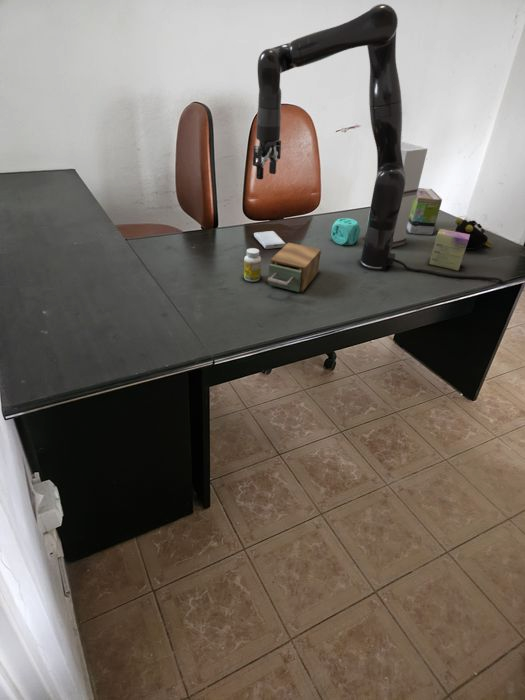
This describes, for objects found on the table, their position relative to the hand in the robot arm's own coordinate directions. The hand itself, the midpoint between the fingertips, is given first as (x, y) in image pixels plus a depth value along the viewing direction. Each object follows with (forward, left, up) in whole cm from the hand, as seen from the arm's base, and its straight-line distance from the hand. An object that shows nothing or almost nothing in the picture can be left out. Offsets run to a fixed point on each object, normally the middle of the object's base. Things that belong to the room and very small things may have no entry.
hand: (266, 176), depth 158 cm
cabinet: (-19, +16, -26) cm, 36 cm away
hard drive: (0, -8, -26) cm, 27 cm away
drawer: (-19, +22, -25) cm, 38 cm away
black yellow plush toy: (-70, -43, -26) cm, 86 cm away
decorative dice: (-25, -23, -26) cm, 42 cm away
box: (-63, -21, -26) cm, 71 cm away
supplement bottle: (-7, +23, -26) cm, 36 cm away
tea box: (-48, -54, -26) cm, 76 cm away
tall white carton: (-39, -32, -26) cm, 56 cm away
